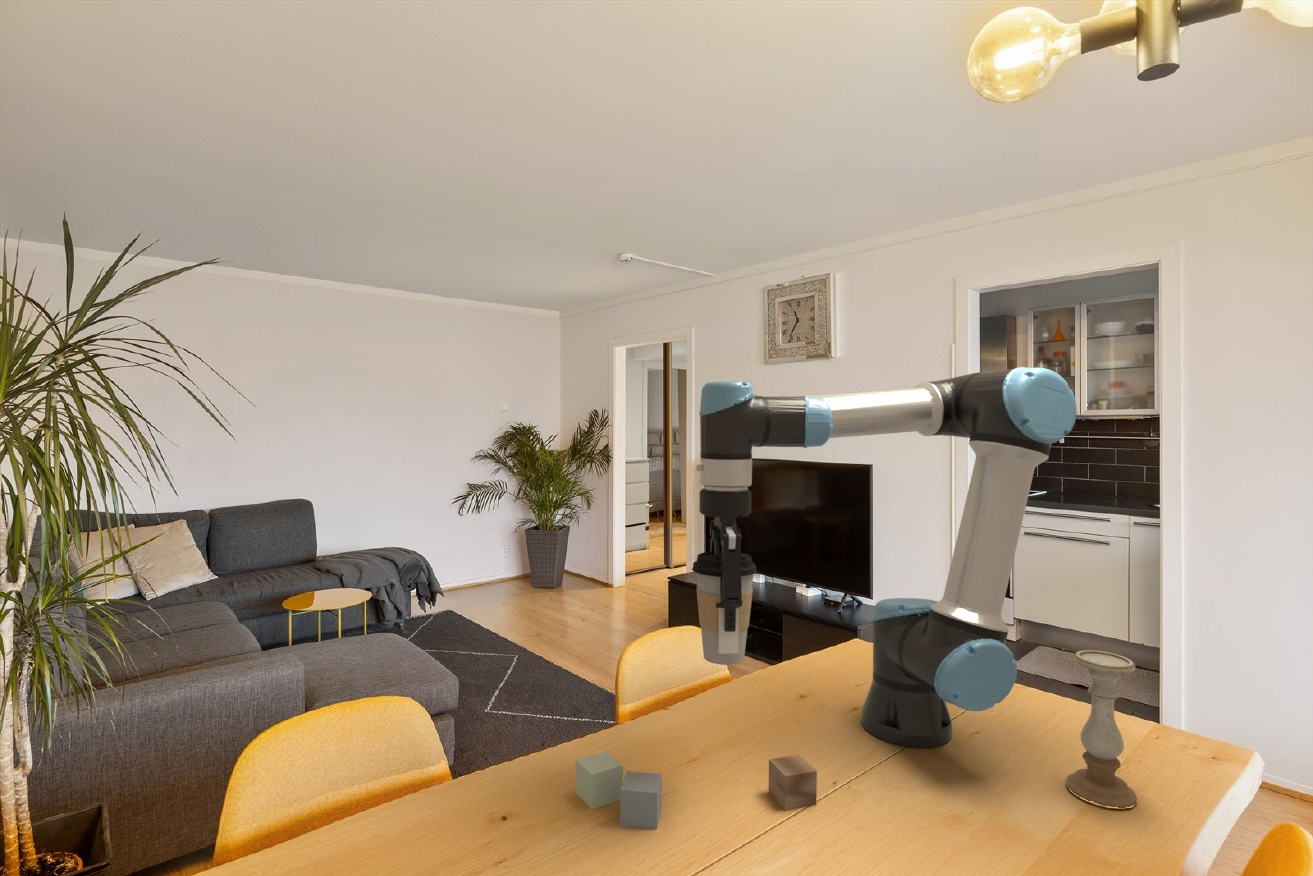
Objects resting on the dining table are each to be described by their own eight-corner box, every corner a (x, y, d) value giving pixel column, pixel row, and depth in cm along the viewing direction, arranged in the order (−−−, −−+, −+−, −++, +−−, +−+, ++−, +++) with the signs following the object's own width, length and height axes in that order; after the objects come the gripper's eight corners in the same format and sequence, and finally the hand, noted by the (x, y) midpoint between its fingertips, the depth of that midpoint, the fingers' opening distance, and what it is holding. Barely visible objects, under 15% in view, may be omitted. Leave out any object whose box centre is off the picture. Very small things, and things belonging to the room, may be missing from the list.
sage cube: (605, 784, 103) (606, 751, 103) (622, 799, 99) (622, 765, 99) (575, 793, 100) (576, 759, 100) (591, 810, 96) (591, 774, 96)
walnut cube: (798, 787, 103) (799, 754, 102) (816, 805, 98) (816, 770, 98) (768, 793, 101) (768, 759, 101) (785, 811, 96) (785, 776, 96)
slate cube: (661, 809, 97) (661, 774, 96) (656, 829, 92) (657, 793, 91) (626, 806, 97) (626, 771, 97) (620, 826, 92) (620, 790, 92)
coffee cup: (753, 672, 95) (754, 564, 95) (686, 666, 97) (687, 561, 96) (757, 649, 104) (758, 551, 104) (696, 645, 106) (697, 548, 106)
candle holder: (1125, 784, 104) (1129, 652, 104) (1145, 816, 96) (1149, 672, 95) (1059, 774, 107) (1063, 645, 106) (1073, 804, 99) (1077, 664, 98)
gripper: (692, 481, 110) (691, 621, 111) (708, 495, 89) (706, 668, 90) (739, 481, 111) (737, 621, 111) (765, 495, 90) (763, 668, 90)
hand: (723, 642), depth 100 cm, fingers closed on coffee cup, 8 cm apart
